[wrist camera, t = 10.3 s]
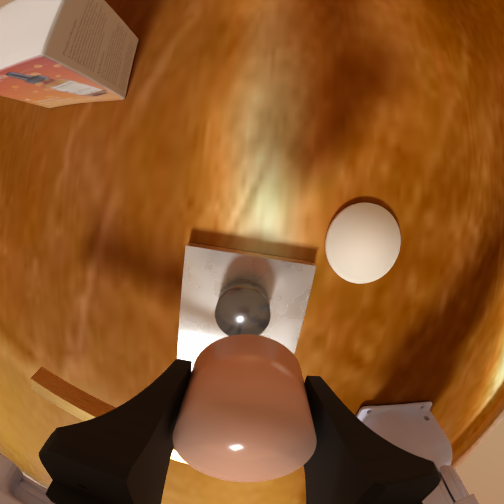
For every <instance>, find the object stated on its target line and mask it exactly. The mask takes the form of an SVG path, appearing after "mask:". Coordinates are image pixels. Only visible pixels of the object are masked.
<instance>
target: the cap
mask: <svg viewBox="0 0 504 504" xmlns="http://www.w3.org/2000/svg"><path fill="white" fill-rule="evenodd" d="M172 439H173V445H174V447H175V450H176V451H177V453H178V455H179V456H180V457H181V458H182V459H183V460H184V461H185V462H186V463H187V464H188V465H190V466H191V467H193V468H194V469H196V470H198V471H200V472H202V473H204V474H206V475H209V476H211V477H215V478H218V479H222V480H227V481H234V482H260V481H267V480H272V479H276V478H279V477H282V476H285V475H287V474H290V473H292V472H294V471H295V470H297V469H299V468H300V467H302V466H303V465H304V464H305V463H306V462H307V461H308V460H309V459H310V458H311V456H312V455H313V453H314V451H315V449H316V444H317V441H316V434H315V429H314V425H313V420H312V416H311V411H310V407H309V402H308V398H307V394H306V389H305V385H304V380H303V376H302V372H301V368H300V364H299V362H298V360H297V358H296V357H295V356H294V354H293V353H292V352H291V351H290V350H289V349H288V348H287V347H285V346H284V345H282V344H281V343H279V342H277V341H275V340H273V339H270V338H267V337H264V336H259V335H251V334H239V335H232V336H228V337H224V338H221V339H219V340H216V341H214V342H212V343H211V344H209V345H208V346H206V347H205V348H204V349H203V350H202V351H201V352H200V353H199V355H198V356H197V358H196V360H195V362H194V365H193V368H192V371H191V374H190V378H189V381H188V384H187V388H186V391H185V394H184V397H183V401H182V404H181V408H180V411H179V414H178V418H177V421H176V425H175V428H174V431H173V438H172Z"/></svg>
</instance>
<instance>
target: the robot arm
mask: <svg viewBox="0 0 504 504" xmlns="http://www.w3.org/2000/svg"><path fill="white" fill-rule="evenodd" d="M191 369H192V361H189V360H183V359H176V360H175V361H174V362H173V363H172V364H171V365H170V366H169V367H168V369H167V370H166V371H165V372H164V373H163V374H162V375H160V376H159V377H158V378H157V379H156V380H155V381H154V382H153V383H152V384H150V385H149V386H148V387H147V388H145V389H144V390H143V391H142V392H140V393H139V394H138V395H136V396H135V397H134V398H132V399H131V400H129V401H127V402H126V403H124V404H123V405H121V406H119V407H117V408H115V409H113V410H111V411H109V412H107V413H105V414H103V415H101V416H98V417H95V418H93V419H90V420H87V421H84V422H81V423H77V424H73V425H69V426H64V427H59V428H56V430H55V431H54V432H53V433H52V434H51V435H50V437H49V438H48V440H47V441H46V443H45V444H44V446H43V447H42V449H41V450H40V452H39V457H40V460H41V462H42V464H43V466H44V467H45V469H46V470H47V472H48V473H49V475H50V476H51V478H52V479H53V481H52V483H51V484H50V486H49V488H48V489H46V488H44V487H42V486H41V485H39V484H37V483H35V482H34V481H32V480H30V479H29V478H27V477H25V476H24V475H23V473H22V472H21V470H20V469H19V468H18V467H17V466H16V465H15V464H14V463H13V462H12V461H10V460H9V459H8V458H6V457H5V456H3V455H2V454H0V504H161V500H162V494H163V489H164V484H165V479H166V475H167V470H168V466H169V461H170V458H171V455H172V452H173V449H174V445H173V439H172V438H173V431H174V428H175V425H176V421H177V418H178V414H179V411H180V408H181V404H182V401H183V397H184V394H185V391H186V388H187V384H188V381H189V378H190V374H191ZM304 385H305V389H306V394H307V398H308V402H309V407H310V411H311V416H312V420H313V425H314V429H315V434H316V441H317V444H316V449H315V451H314V453H313V455H312V456H311V458H310V459H309V460H308V461H307V462H306V463H305V464H304V470H305V479H306V504H479V503H478V502H477V500H476V498H475V496H474V494H471V495H469V494H468V492H467V490H466V488H465V486H464V485H463V483H462V481H461V479H460V477H459V476H458V474H457V472H456V471H455V469H454V468H453V466H450V464H451V461H452V448H451V444H450V442H449V440H448V438H447V436H446V435H445V433H444V432H443V430H442V429H441V427H440V425H439V424H438V422H437V421H436V419H435V418H434V416H433V415H432V413H431V412H430V408H431V406H432V403H431V401H428V402H420V403H410V404H398V405H382V406H364V407H362V408H361V409H360V410H359V412H358V414H357V416H355V415H354V414H353V413H352V412H351V411H350V410H349V409H348V408H347V407H346V406H345V405H344V404H343V403H342V401H341V400H340V399H339V398H338V397H337V396H336V395H335V393H334V392H333V391H332V390H331V389H330V387H329V386H328V385H327V384H326V383H325V381H324V380H323V379H322V378H321V377H320V376H307V377H306V380H305V383H304ZM368 410H369V411H368Z"/></svg>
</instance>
